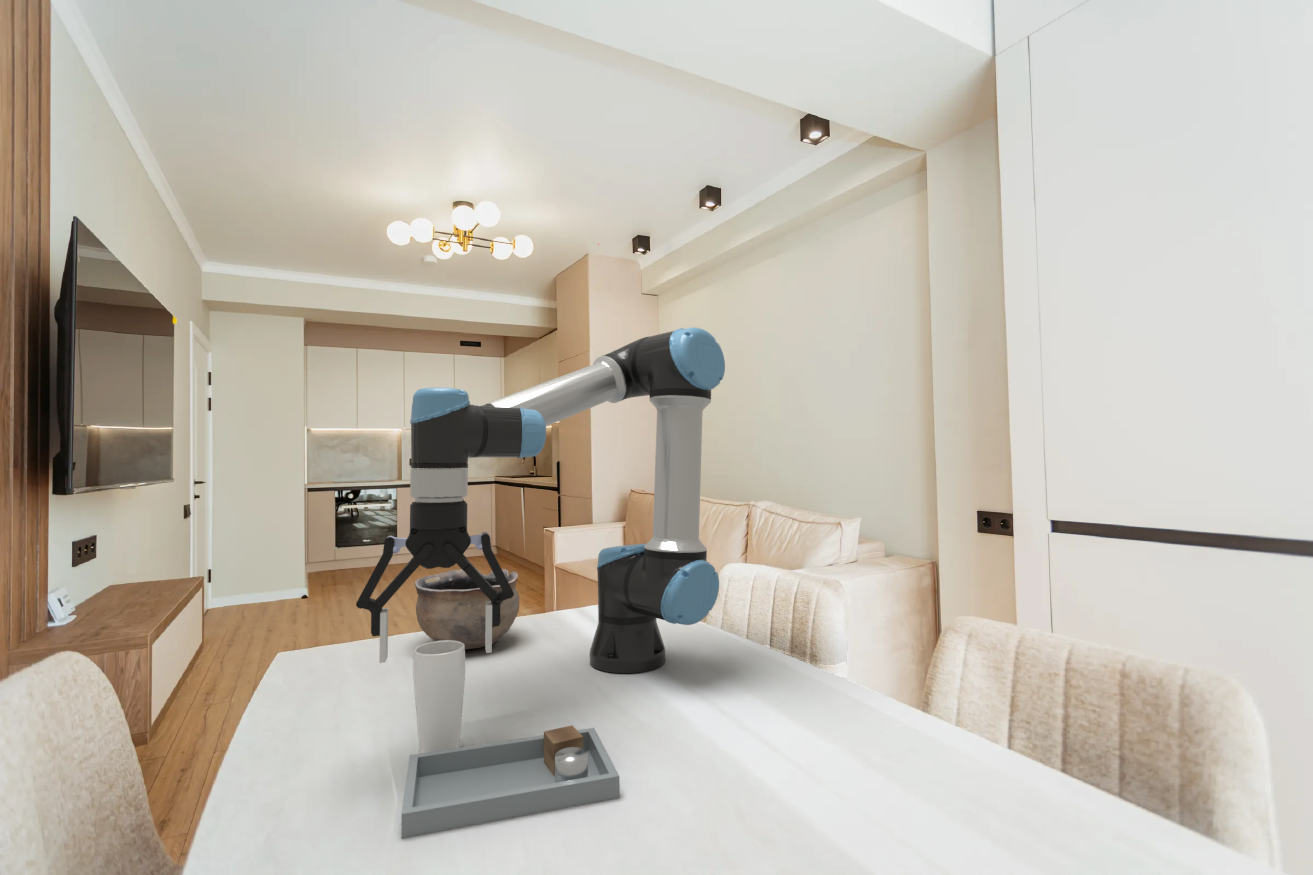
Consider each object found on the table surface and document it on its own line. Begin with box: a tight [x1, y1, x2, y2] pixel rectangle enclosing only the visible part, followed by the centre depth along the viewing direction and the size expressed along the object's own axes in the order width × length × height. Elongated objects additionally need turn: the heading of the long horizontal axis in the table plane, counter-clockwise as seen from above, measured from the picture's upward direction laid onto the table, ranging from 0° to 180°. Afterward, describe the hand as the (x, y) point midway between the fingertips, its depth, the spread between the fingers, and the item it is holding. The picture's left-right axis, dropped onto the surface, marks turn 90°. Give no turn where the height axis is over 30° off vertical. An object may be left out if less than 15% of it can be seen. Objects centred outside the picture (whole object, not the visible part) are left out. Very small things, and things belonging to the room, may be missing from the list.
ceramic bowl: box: [414, 568, 520, 650], centre depth 137 cm, size 22×22×15 cm
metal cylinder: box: [555, 747, 588, 783], centre depth 77 cm, size 4×4×4 cm
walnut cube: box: [543, 724, 583, 775], centre depth 82 cm, size 4×4×4 cm
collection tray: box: [401, 727, 621, 839], centre depth 77 cm, size 24×14×3 cm, turn 108°
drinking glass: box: [412, 640, 466, 754], centre depth 86 cm, size 7×7×15 cm
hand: (437, 654), depth 86 cm, fingers open, 13 cm apart
